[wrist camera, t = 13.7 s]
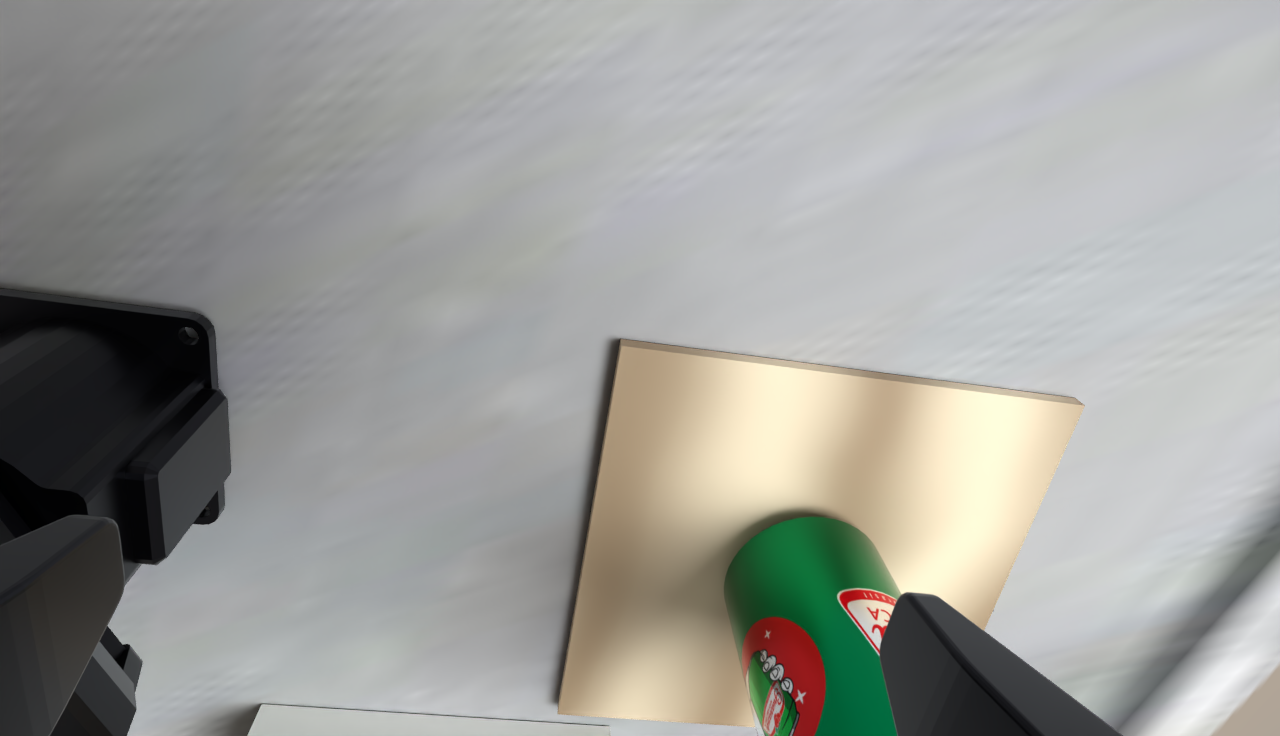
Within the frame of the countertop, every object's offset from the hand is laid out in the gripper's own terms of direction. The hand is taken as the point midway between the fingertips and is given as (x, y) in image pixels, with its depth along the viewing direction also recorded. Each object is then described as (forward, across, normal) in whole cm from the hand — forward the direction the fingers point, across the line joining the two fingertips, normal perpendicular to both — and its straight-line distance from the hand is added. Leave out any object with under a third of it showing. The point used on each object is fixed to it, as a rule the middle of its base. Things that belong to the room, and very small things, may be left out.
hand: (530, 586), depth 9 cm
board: (+13, -9, +9) cm, 18 cm away
